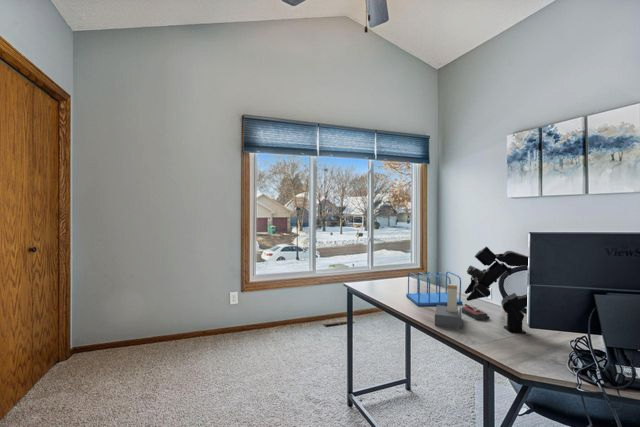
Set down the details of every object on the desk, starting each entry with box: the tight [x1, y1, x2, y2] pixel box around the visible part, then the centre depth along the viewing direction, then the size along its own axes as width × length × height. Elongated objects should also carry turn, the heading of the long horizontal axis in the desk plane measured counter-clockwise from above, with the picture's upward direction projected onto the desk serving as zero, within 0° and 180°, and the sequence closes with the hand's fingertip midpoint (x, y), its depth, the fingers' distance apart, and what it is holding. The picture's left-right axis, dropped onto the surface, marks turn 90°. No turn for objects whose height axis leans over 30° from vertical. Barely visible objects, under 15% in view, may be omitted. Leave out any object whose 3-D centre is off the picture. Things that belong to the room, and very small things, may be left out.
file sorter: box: [405, 270, 463, 307], centre depth 182 cm, size 25×17×15 cm
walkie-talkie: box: [461, 303, 491, 321], centre depth 161 cm, size 9×4×20 cm
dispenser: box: [434, 305, 463, 330], centre depth 150 cm, size 11×14×6 cm
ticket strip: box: [446, 283, 458, 313], centre depth 149 cm, size 4×1×13 cm, turn 67°
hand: (466, 296), depth 147 cm, fingers open, 9 cm apart
